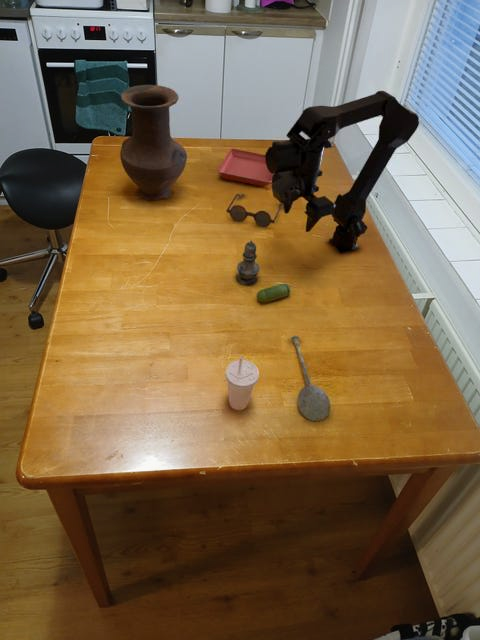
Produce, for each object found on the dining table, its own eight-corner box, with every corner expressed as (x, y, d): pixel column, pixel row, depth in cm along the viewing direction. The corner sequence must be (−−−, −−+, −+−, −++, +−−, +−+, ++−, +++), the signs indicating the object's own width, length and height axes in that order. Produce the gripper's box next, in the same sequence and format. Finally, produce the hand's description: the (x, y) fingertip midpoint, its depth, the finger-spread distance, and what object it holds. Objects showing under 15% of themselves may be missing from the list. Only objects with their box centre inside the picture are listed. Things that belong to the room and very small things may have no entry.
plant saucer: (279, 165, 171) (281, 156, 168) (270, 191, 158) (271, 181, 156) (229, 156, 173) (230, 147, 170) (216, 180, 160) (217, 171, 158)
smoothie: (221, 389, 101) (225, 344, 91) (252, 389, 101) (259, 344, 91) (223, 416, 96) (227, 371, 86) (255, 415, 97) (263, 371, 87)
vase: (111, 189, 152) (99, 89, 130) (162, 171, 162) (159, 76, 140) (147, 217, 142) (140, 114, 121) (199, 197, 152) (201, 99, 131)
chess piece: (247, 289, 123) (252, 250, 115) (231, 277, 126) (234, 239, 118) (262, 278, 127) (268, 241, 118) (246, 268, 129) (250, 230, 121)
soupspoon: (299, 424, 97) (331, 423, 98) (303, 415, 94) (335, 414, 96) (280, 340, 112) (308, 339, 113) (283, 330, 109) (311, 330, 110)
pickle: (285, 289, 125) (287, 279, 122) (292, 297, 123) (294, 287, 120) (253, 298, 121) (255, 288, 119) (260, 306, 119) (261, 296, 117)
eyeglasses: (225, 219, 145) (226, 204, 141) (240, 194, 155) (241, 180, 152) (273, 230, 143) (275, 215, 139) (284, 205, 153) (286, 190, 149)
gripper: (257, 154, 116) (251, 210, 127) (303, 192, 105) (292, 250, 116) (294, 146, 121) (285, 201, 132) (343, 181, 110) (328, 238, 121)
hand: (296, 222), depth 125 cm, fingers open, 9 cm apart
